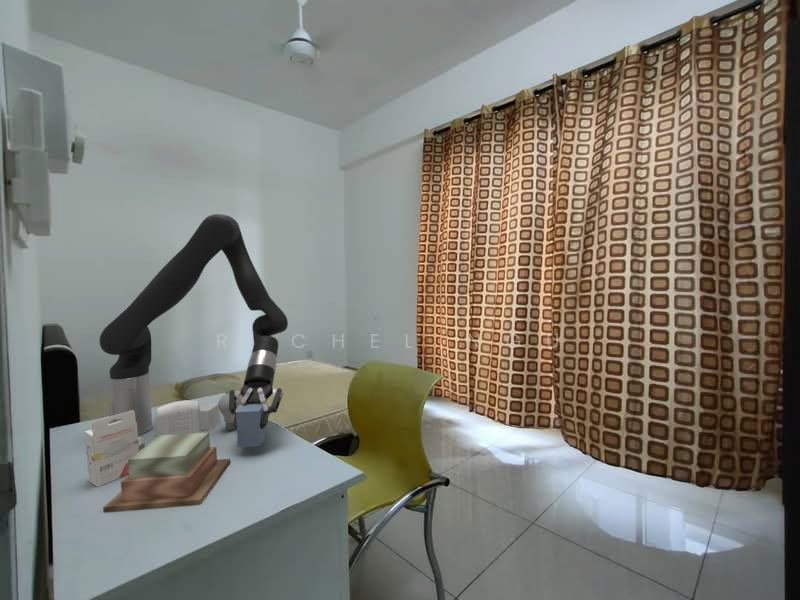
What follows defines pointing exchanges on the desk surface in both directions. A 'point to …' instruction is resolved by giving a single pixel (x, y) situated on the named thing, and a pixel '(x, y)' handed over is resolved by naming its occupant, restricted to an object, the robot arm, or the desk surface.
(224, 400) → the lightbulb
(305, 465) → the desk surface
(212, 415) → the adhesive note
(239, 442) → the slate brick
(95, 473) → the ink cartridge box
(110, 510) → the stepped tiered pedestal
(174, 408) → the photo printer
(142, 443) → the game die
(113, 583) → the desk surface
